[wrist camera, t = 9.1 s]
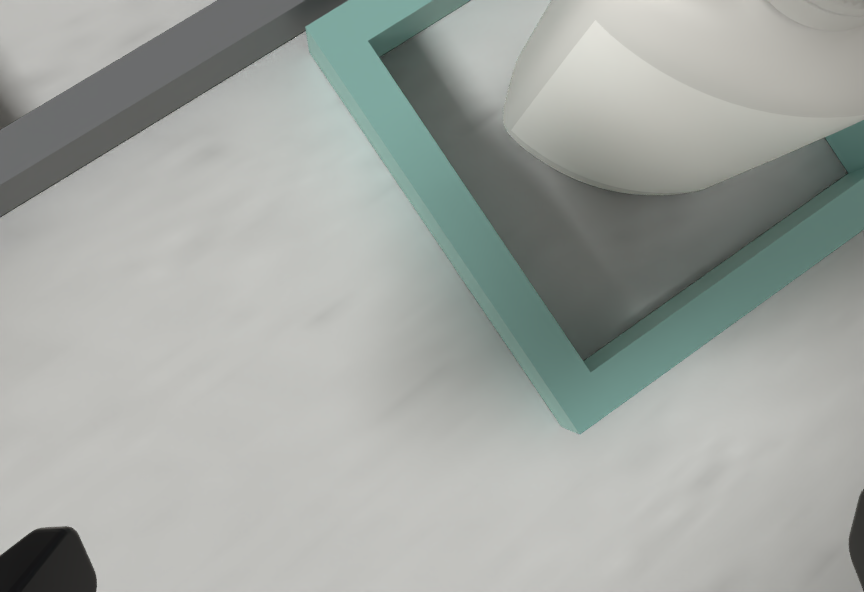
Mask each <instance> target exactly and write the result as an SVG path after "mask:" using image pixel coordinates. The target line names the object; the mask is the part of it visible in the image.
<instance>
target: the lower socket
mask: <svg viewBox="0 0 864 592" xmlns="http://www.w3.org/2000/svg"><path fill="white" fill-rule="evenodd" d="M469 1H470V0H348V1H347V2H345V3H343V4H342V5H340V6H338V7H337V8H335V9H333V10H332V11H330V12H329V13H327V14H325V15H324V16H322V17H320V18H319V19H317V20H315V21H314V22H312V23H310V24H309V25H307V26H306V27H305V28H306V34H307V40H308V47H309V52H310V54H311V55H312V57H313V58H314V60H315V61H316V63H317V64H318V66H319V67H320V69H321V70H322V72H323V73H324V75H325V76H326V78H327V79H328V81H329V82H330V84H331V85H332V87H333V88H334V89H335V91H336V92H337V94H338V95H339V97H340V98H341V100H342V101H343V103H344V104H345V106H346V107H347V109H348V110H349V112H350V113H351V115H352V116H353V118H354V119H355V121H356V122H357V124H358V125H359V127H360V128H361V130H362V131H363V133H364V134H365V136H366V137H367V139H368V140H369V141H370V143H371V144H372V146H373V147H374V149H375V150H376V152H377V153H378V155H379V156H380V158H381V159H382V161H383V162H384V164H385V165H386V167H387V168H388V170H389V171H390V173H391V174H392V176H393V177H394V179H395V180H396V182H397V183H398V185H399V186H400V188H401V189H402V191H403V192H404V193H405V195H406V196H407V198H408V199H409V201H410V202H411V204H412V205H413V207H414V208H415V210H416V211H417V213H418V214H419V216H420V217H421V219H422V220H423V222H424V223H425V225H426V226H427V228H428V229H429V231H430V232H431V234H432V235H433V237H434V238H435V240H436V241H437V243H438V244H439V245H440V247H441V248H442V250H443V251H444V253H445V254H446V256H447V257H448V259H449V260H450V262H451V263H452V265H453V266H454V268H455V269H456V271H457V272H458V274H459V275H460V277H461V278H462V280H463V281H464V283H465V284H466V286H467V287H468V289H469V290H470V292H471V293H472V295H473V296H474V297H475V299H476V300H477V302H478V303H479V305H480V306H481V308H482V309H483V311H484V312H485V314H486V315H487V317H488V318H489V320H490V321H491V323H492V324H493V326H494V327H495V329H496V330H497V332H498V333H499V335H500V336H501V338H502V339H503V341H504V342H505V344H506V345H507V347H508V348H509V349H510V351H511V352H512V354H513V355H514V357H515V358H516V360H517V361H518V363H519V364H520V366H521V367H522V369H523V370H524V372H525V373H526V375H527V376H528V378H529V379H530V381H531V382H532V384H533V385H534V387H535V388H536V390H537V391H538V393H539V394H540V396H541V397H542V398H543V400H544V401H545V403H546V404H547V406H548V407H549V409H550V410H551V412H552V413H553V415H554V416H555V418H556V419H557V421H558V422H559V424H560V425H561V427H563V428H566V429H568V430H570V431H573V432H575V433H577V434H581V433H583V432H584V431H585V430H587V429H588V428H590V427H591V426H592V425H594V424H595V423H597V422H598V421H599V420H601V419H602V418H603V417H605V416H606V415H608V414H609V413H610V412H612V411H613V410H614V409H616V408H617V407H619V406H620V405H621V404H623V403H624V402H626V401H627V400H628V399H630V398H631V397H632V396H634V395H635V394H637V393H638V392H639V391H641V390H642V389H644V388H645V387H646V386H648V385H649V384H650V383H652V382H653V381H655V380H656V379H657V378H659V377H660V376H662V375H663V374H664V373H666V372H667V371H668V370H670V369H671V368H673V367H674V366H675V365H677V364H678V363H680V362H681V361H682V360H684V359H685V358H686V357H688V356H689V355H691V354H692V353H693V352H695V351H696V350H698V349H699V348H700V347H702V346H703V345H704V344H706V343H707V342H709V341H710V340H711V339H713V338H714V337H716V336H717V335H718V334H720V333H721V332H722V331H724V330H725V329H727V328H728V327H729V326H731V325H732V324H734V323H735V322H736V321H738V320H739V319H740V318H742V317H743V316H745V315H746V314H747V313H749V312H750V311H752V310H753V309H754V308H756V307H757V306H758V305H760V304H761V303H763V302H764V301H765V300H767V299H768V298H770V297H771V296H772V295H774V294H775V293H776V292H778V291H779V290H781V289H782V288H783V287H785V286H786V285H788V284H789V283H790V282H792V281H793V280H794V279H796V278H797V277H799V276H800V275H801V274H803V273H804V272H806V271H807V270H808V269H810V268H811V267H812V266H814V265H815V264H817V263H818V262H819V261H821V260H822V259H823V258H825V257H826V256H828V255H829V254H830V253H832V252H833V251H835V250H836V249H837V248H839V247H840V246H841V245H843V244H844V243H846V242H847V241H848V240H850V239H851V238H853V237H854V236H855V235H857V234H858V233H859V232H861V231H862V230H864V120H862V121H860V122H858V123H856V124H853V125H851V126H849V127H847V128H845V129H843V130H841V131H838V132H836V133H834V134H831V135H829V136H827V137H825V139H826V140H827V142H828V143H829V145H830V146H831V148H832V149H833V151H834V152H835V154H836V155H837V157H838V158H839V160H840V161H841V163H842V164H843V166H844V167H845V169H846V170H847V172H848V174H847V175H845V176H844V177H843V178H841V179H840V180H838V181H837V182H835V183H834V184H833V185H831V186H830V187H828V188H827V189H826V190H824V191H823V192H821V193H820V194H819V195H817V196H816V197H814V198H813V199H811V200H810V201H809V202H807V203H806V204H804V205H803V206H802V207H800V208H799V209H797V210H796V211H795V212H793V213H792V214H790V215H789V216H788V217H786V218H785V219H783V220H782V221H780V222H779V223H778V224H776V225H775V226H773V227H772V228H771V229H769V230H768V231H766V232H765V233H764V234H762V235H761V236H759V237H758V238H756V239H755V240H754V241H752V242H751V243H749V244H748V245H747V246H745V247H744V248H742V249H741V250H740V251H738V252H737V253H735V254H734V255H732V256H731V257H730V258H728V259H727V260H725V261H724V262H723V263H721V264H720V265H718V266H717V267H716V268H714V269H713V270H711V271H710V272H708V273H707V274H706V275H704V276H703V277H701V278H700V279H699V280H697V281H696V282H694V283H693V284H692V285H690V286H689V287H687V288H686V289H684V290H683V291H682V292H680V293H679V294H677V295H676V296H675V297H673V298H672V299H670V300H669V301H668V302H666V303H665V304H663V305H662V306H660V307H659V308H658V309H656V310H655V311H653V312H652V313H651V314H649V315H648V316H646V317H645V318H644V319H642V320H641V321H639V322H638V323H637V324H635V325H634V326H632V327H631V328H629V329H628V330H627V331H625V332H624V333H622V334H621V335H620V336H618V337H617V338H615V339H614V340H613V341H611V342H610V343H608V344H607V345H605V346H604V347H603V348H601V349H600V350H598V351H597V352H596V353H594V354H593V355H591V356H590V357H589V358H587V359H586V360H584V361H583V360H582V359H581V357H580V356H579V354H578V353H577V351H576V350H575V348H574V347H573V346H572V344H571V343H570V341H569V340H568V338H567V337H566V335H565V334H564V332H563V331H562V329H561V328H560V326H559V325H558V323H557V322H556V320H555V319H554V317H553V316H552V314H551V313H550V311H549V310H548V308H547V307H546V305H545V304H544V302H543V301H542V299H541V298H540V296H539V295H538V293H537V292H536V290H535V289H534V287H533V286H532V284H531V283H530V282H529V280H528V279H527V277H526V276H525V274H524V273H523V271H522V270H521V268H520V267H519V265H518V264H517V262H516V261H515V259H514V258H513V256H512V255H511V253H510V252H509V250H508V249H507V247H506V246H505V244H504V243H503V241H502V240H501V238H500V237H499V235H498V234H497V232H496V231H495V229H494V228H493V226H492V225H491V223H490V222H489V220H488V219H487V218H486V216H485V215H484V213H483V212H482V210H481V209H480V207H479V206H478V204H477V203H476V201H475V200H474V198H473V197H472V195H471V194H470V192H469V191H468V189H467V188H466V186H465V185H464V183H463V182H462V180H461V179H460V177H459V176H458V174H457V173H456V171H455V170H454V168H453V167H452V165H451V164H450V162H449V161H448V159H447V158H446V156H445V155H444V154H443V152H442V151H441V149H440V148H439V146H438V145H437V143H436V142H435V140H434V139H433V137H432V136H431V134H430V133H429V131H428V130H427V128H426V127H425V125H424V124H423V122H422V121H421V119H420V118H419V116H418V115H417V113H416V112H415V110H414V109H413V107H412V106H411V104H410V103H409V101H408V100H407V98H406V97H405V95H404V94H403V92H402V91H401V90H400V88H399V87H398V85H397V84H396V82H395V81H394V79H393V78H392V76H391V75H390V73H389V72H388V70H387V69H386V67H385V66H384V64H383V63H382V61H381V60H380V58H379V57H380V56H382V55H384V54H385V53H387V52H388V51H390V50H392V49H393V48H395V47H396V46H398V45H400V44H401V43H403V42H404V41H406V40H408V39H409V38H411V37H412V36H414V35H416V34H417V33H419V32H420V31H422V30H424V29H425V28H427V27H428V26H430V25H432V24H433V23H435V22H436V21H438V20H440V19H441V18H443V17H445V16H446V15H448V14H449V13H451V12H453V11H454V10H456V9H457V8H459V7H461V6H462V5H464V4H465V3H467V2H469Z"/></svg>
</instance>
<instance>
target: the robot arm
mask: <svg viewBox="0 0 864 592" xmlns="http://www.w3.org/2000/svg"><path fill="white" fill-rule="evenodd" d="M849 551H850V556H851V559H852V562H853V565H854V568H855V570H856V573H857V575H858V578H859V581H860V583H861V586H862V588H863V591H864V489H863V491H862V492H861V494H860V497H859V500H858V504H857V508H856V512H855V516H854V520H853V524H852V528H851V532H850V536H849ZM96 588H97V579H96V574H95V571H94V568H93V566H92V564H91V562H90V559H89V557H88V555H87V553H86V550H85V548H84V546H83V544H82V541H81V539H80V537H79V535H78V533H77V531H75V530H74V529H73V528H72V527H67V526H65V527H46V528H39V529H36V530H34V531H32V532H31V533H29V534H28V535H26V536H25V537H24V538H23V539H21V540H20V541H19V542H17V543H16V544H15V545H13V546H12V547H11V548H10V549H8V550H7V551H6V552H4V553H3V554H2V555H0V592H96Z"/></svg>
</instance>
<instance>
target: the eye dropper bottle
mask: <svg viewBox="0 0 864 592" xmlns="http://www.w3.org/2000/svg"><path fill="white" fill-rule="evenodd" d="M862 120H864V0H551V2H550V4H549V6H548V7H547V9H546V11H545V12H544V14H543V16H542V17H541V19H540V21H539V23H538V24H537V26H536V28H535V29H534V31H533V33H532V34H531V36H530V38H529V40H528V41H527V43H526V45H525V46H524V48H523V50H522V52H521V53H520V55H519V57H518V59H517V61H516V64H515V67H514V70H513V74H512V77H511V81H510V85H509V89H508V92H507V96H506V100H505V104H504V109H503V124H504V126H505V128H506V130H507V131H508V133H509V135H510V136H511V137H512V138H513V139H514V140H515V141H516V142H517V143H518V144H519V145H520V146H521V147H523V148H524V149H525V150H526V151H528V152H529V153H530V154H532V155H533V156H535V157H536V158H537V159H539V160H540V161H542V162H543V163H545V164H547V165H548V166H550V167H552V168H553V169H555V170H557V171H559V172H561V173H563V174H565V175H567V176H569V177H571V178H573V179H576V180H578V181H581V182H583V183H586V184H589V185H592V186H595V187H598V188H602V189H606V190H610V191H615V192H621V193H628V194H638V195H674V194H685V193H690V192H695V191H700V190H703V189H706V188H708V187H710V186H713V185H715V184H717V183H720V182H722V181H724V180H727V179H729V178H732V177H734V176H736V175H739V174H741V173H743V172H746V171H748V170H750V169H753V168H755V167H757V166H760V165H762V164H764V163H767V162H769V161H771V160H774V159H776V158H778V157H781V156H783V155H785V154H788V153H790V152H792V151H795V150H797V149H799V148H801V147H804V146H806V145H808V144H811V143H813V142H815V141H818V140H820V139H822V138H824V137H827V136H829V135H831V134H834V133H836V132H838V131H841V130H843V129H845V128H847V127H849V126H851V125H853V124H856V123H858V122H860V121H862Z"/></svg>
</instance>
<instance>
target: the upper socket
mask: <svg viewBox="0 0 864 592" xmlns="http://www.w3.org/2000/svg"><path fill="white" fill-rule="evenodd" d="M347 1H348V0H217V1H216V2H214V3H212V4H211V5H209V6H207V7H206V8H204V9H202V10H200V11H199V12H197V13H195V14H194V15H192V16H190V17H189V18H187V19H185V20H184V21H182V22H180V23H179V24H177V25H175V26H174V27H172V28H170V29H169V30H167V31H165V32H164V33H162V34H160V35H158V36H157V37H155V38H153V39H152V40H150V41H148V42H147V43H145V44H143V45H142V46H140V47H138V48H137V49H135V50H133V51H132V52H130V53H128V54H127V55H125V56H123V57H122V58H120V59H118V60H117V61H115V62H113V63H111V64H110V65H108V66H106V67H105V68H103V69H101V70H100V71H98V72H96V73H95V74H93V75H91V76H90V77H88V78H86V79H85V80H83V81H81V82H80V83H78V84H76V85H75V86H73V87H71V88H69V89H68V90H66V91H64V92H63V93H61V94H59V95H58V96H56V97H54V98H53V99H51V100H49V101H48V102H46V103H44V104H43V105H41V106H39V107H38V108H36V109H34V110H33V111H31V112H29V113H28V114H26V115H24V116H22V117H21V118H19V119H17V120H16V121H14V122H12V123H11V124H9V125H7V126H6V127H4V128H2V129H1V130H0V217H1V216H2V215H4V214H6V213H7V212H9V211H11V210H12V209H14V208H16V207H17V206H19V205H20V204H22V203H24V202H25V201H27V200H29V199H30V198H32V197H34V196H35V195H37V194H38V193H40V192H42V191H43V190H45V189H47V188H48V187H50V186H52V185H53V184H55V183H56V182H58V181H60V180H61V179H63V178H65V177H66V176H68V175H70V174H71V173H73V172H74V171H76V170H78V169H79V168H81V167H83V166H84V165H86V164H88V163H89V162H91V161H92V160H94V159H96V158H97V157H99V156H101V155H102V154H104V153H106V152H107V151H109V150H110V149H112V148H114V147H115V146H117V145H119V144H120V143H122V142H124V141H125V140H127V139H128V138H130V137H132V136H133V135H135V134H137V133H138V132H140V131H142V130H143V129H145V128H146V127H148V126H150V125H151V124H153V123H155V122H156V121H158V120H160V119H161V118H163V117H164V116H166V115H168V114H169V113H171V112H173V111H174V110H176V109H178V108H179V107H181V106H183V105H184V104H186V103H187V102H189V101H191V100H192V99H194V98H196V97H197V96H199V95H201V94H202V93H204V92H205V91H207V90H209V89H210V88H212V87H214V86H215V85H217V84H219V83H220V82H222V81H223V80H225V79H227V78H228V77H230V76H232V75H233V74H235V73H237V72H238V71H240V70H241V69H243V68H245V67H246V66H248V65H250V64H251V63H253V62H255V61H256V60H258V59H259V58H261V57H263V56H264V55H266V54H268V53H269V52H271V51H273V50H274V49H276V48H277V47H279V46H281V45H282V44H284V43H286V42H287V41H289V40H291V39H292V38H294V37H295V36H297V35H299V34H300V33H302V32H304V31H305V30H306V28H305V27H306V26H307V25H309V24H310V23H312V22H314V21H315V20H317V19H319V18H320V17H322V16H324V15H325V14H327V13H329V12H330V11H332V10H333V9H335V8H337V7H338V6H340V5H342V4H343V3H345V2H347Z"/></svg>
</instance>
